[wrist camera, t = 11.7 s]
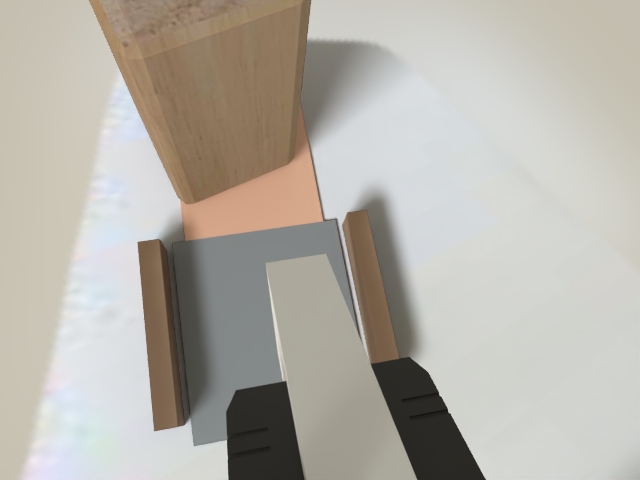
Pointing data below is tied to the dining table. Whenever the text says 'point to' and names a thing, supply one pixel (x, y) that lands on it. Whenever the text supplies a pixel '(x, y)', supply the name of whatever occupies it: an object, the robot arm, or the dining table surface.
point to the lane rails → (163, 330)
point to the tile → (260, 200)
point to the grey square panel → (238, 313)
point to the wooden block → (212, 83)
